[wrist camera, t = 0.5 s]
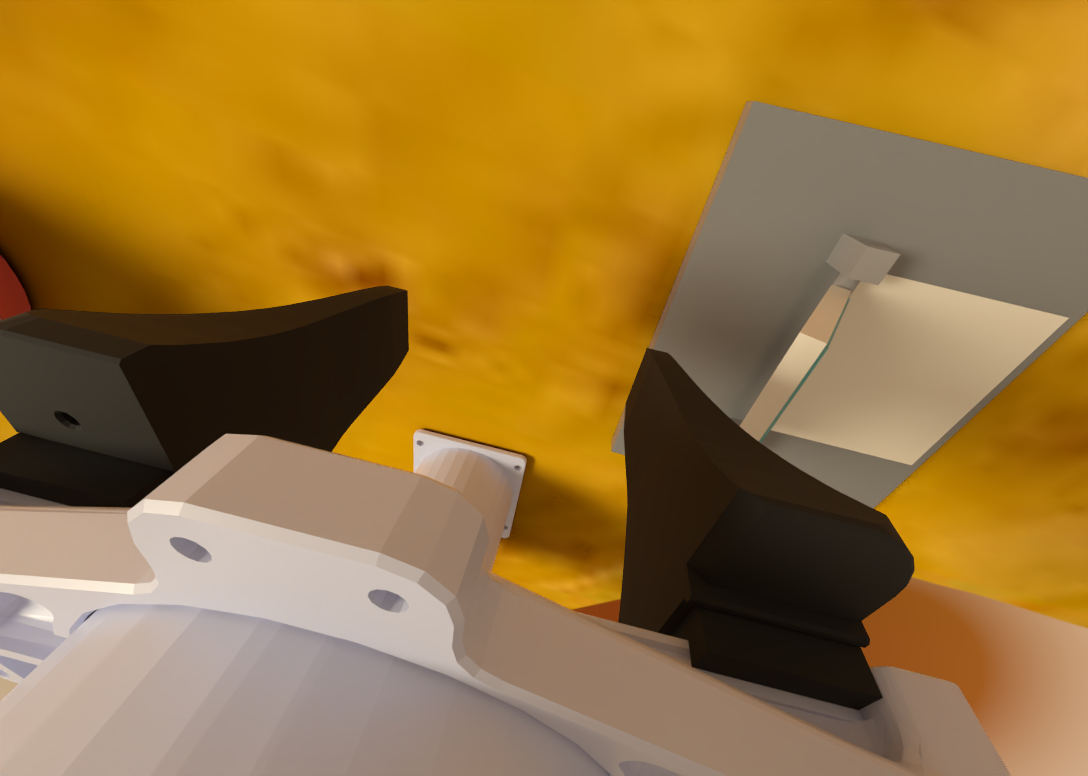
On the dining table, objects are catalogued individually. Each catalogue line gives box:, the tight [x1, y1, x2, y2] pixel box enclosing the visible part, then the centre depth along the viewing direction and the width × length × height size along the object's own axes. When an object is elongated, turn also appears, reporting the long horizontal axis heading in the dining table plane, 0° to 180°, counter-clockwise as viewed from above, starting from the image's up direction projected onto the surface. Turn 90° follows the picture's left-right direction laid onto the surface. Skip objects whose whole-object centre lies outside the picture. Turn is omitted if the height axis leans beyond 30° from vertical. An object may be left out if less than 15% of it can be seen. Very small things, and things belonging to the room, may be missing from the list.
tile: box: [740, 284, 851, 443], centre depth 15 cm, size 8×7×1 cm
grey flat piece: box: [611, 101, 1088, 509], centre depth 19 cm, size 18×16×3 cm
